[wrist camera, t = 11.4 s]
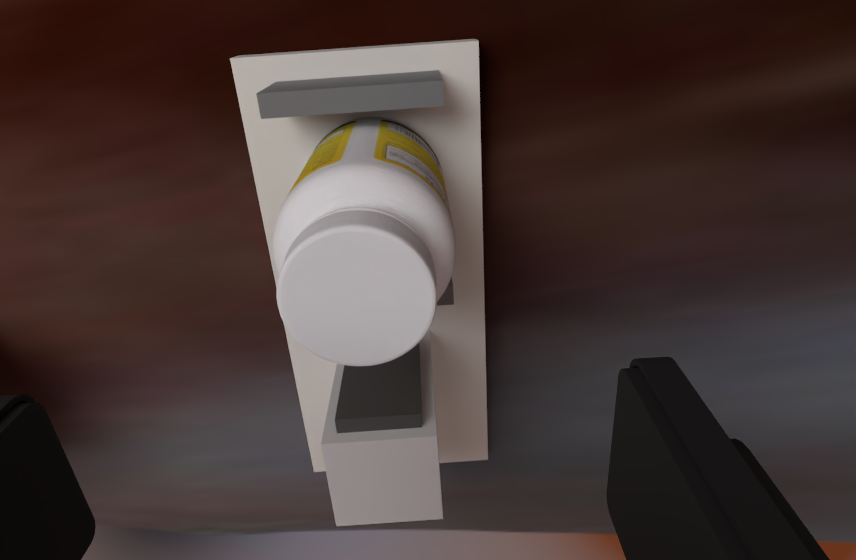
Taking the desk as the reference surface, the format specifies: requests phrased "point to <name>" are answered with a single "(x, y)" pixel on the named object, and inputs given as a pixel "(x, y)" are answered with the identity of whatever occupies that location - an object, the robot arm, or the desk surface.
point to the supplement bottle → (364, 244)
